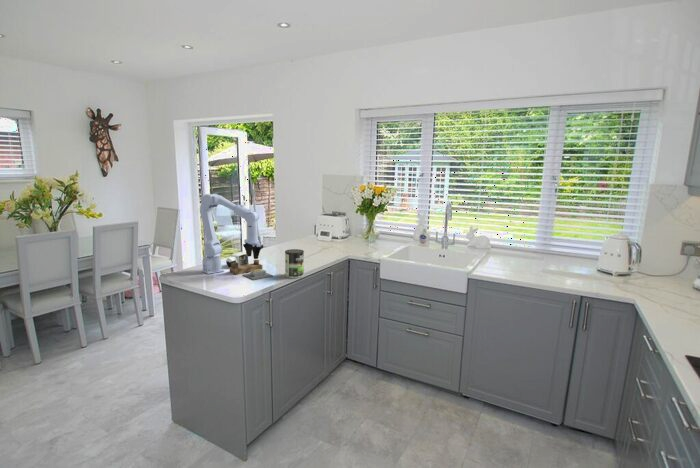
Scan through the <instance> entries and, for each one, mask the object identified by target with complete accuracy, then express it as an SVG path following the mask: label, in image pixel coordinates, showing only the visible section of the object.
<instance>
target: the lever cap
mask: <svg viewBox="0 0 700 468" xmlns="http://www.w3.org/2000/svg"><path fill="white" fill-rule="evenodd" d="M249 273H250V275H251V276H253V277H257V276H262V275H266V273H267V270H266V269H263V268H262V269H256V270H253V271H250V272H249Z"/></svg>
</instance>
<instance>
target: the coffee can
mask: <svg viewBox="0 0 700 468" xmlns="http://www.w3.org/2000/svg"><path fill="white" fill-rule="evenodd" d="M304 253H305V250H303V249H297V248H296V249H295V248H294V249H286V250H285V251H284V256H285V257H284V259H285V260H284V261H285V262H284V263H285V267H284V268H285V269H284V270H285V273H284V275H285V276H284V277H286V278H289V279H300V278H303V277H304V267H305V266H304V263H305V262H304V256H305V255H304Z"/></svg>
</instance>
